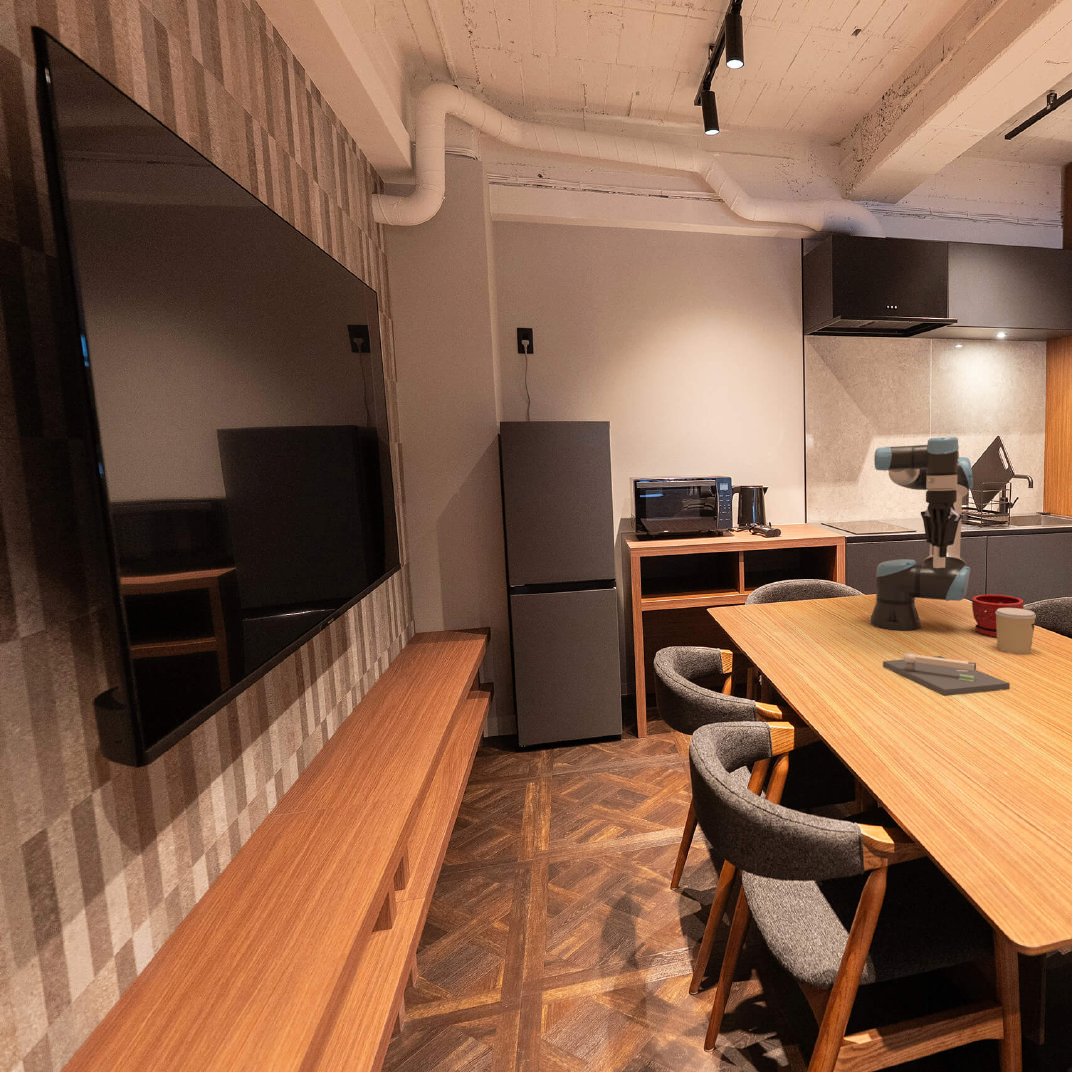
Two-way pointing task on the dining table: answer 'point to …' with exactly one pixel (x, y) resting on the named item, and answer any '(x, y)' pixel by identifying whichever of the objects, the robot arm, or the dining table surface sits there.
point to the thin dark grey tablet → (946, 677)
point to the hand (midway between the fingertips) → (939, 567)
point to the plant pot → (991, 611)
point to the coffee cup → (1015, 630)
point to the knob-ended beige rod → (938, 661)
